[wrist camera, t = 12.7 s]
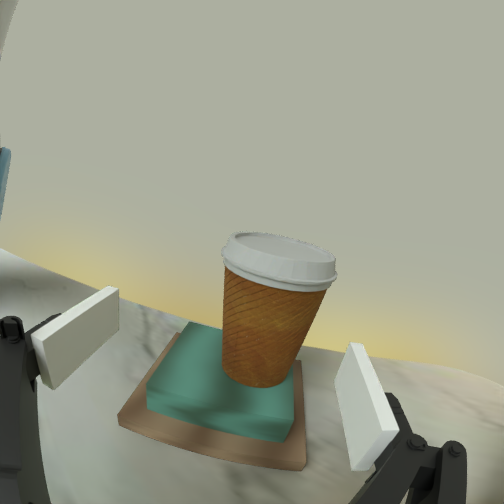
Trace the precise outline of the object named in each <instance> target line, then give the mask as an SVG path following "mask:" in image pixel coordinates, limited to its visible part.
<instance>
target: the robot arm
mask: <svg viewBox="0 0 504 504" xmlns="http://www.w3.org/2000/svg"><path fill="white" fill-rule="evenodd" d="M17 2H18V0H0V59H1V54H2V50H3V46H4V42H5V38H6V35H7V32H8V29H9V25H10V22H11V19H12V16H13V13H14V10H15V8H16V5H17ZM10 159H11V151H10V149H7V148H5V147H2V148H0V219H1V214H2V208H3V202H4V196H5V190H6V184H7V178H8V172H9V166H10ZM118 330H119V289H118V288H115V287H112V286H109V285H108V286H106V287H105V288H103V289H101V290H100V291H98V292H96V293H95V294H93V295H92V296H90V297H88V298H87V299H85V300H83V301H82V302H80V303H79V304H77V305H75V306H74V307H72V308H71V309H69V310H68V311H66V312H64V313H63V314H61V313H59V314H56V315H52V316H51V317H49V318H47V319H46V320H45V321H43V322H41V323H40V324H38V325H36V326H35V327H33V328H32V329H30V330H29V331H27V332H26V333H24V328H23V323H22V320H21V319H20V318H18V317H16V316H6V317H3V318H2V319H0V335H1V336H0V504H51V502H50V498H49V494H48V489H47V484H46V479H45V474H44V468H43V462H42V455H41V447H40V438H39V427H38V409H37V381H36V377H37V376H38V375H39V374H40V375H41V379H42V382H43V384H45V385H46V386H48V387H49V388H51V389H53V390H55V389H56V388H57V387H58V386H59V385H60V384H61V383H62V382H63V381H64V380H66V379H67V378H68V377H69V376H70V375H71V374H72V373H73V372H74V371H75V370H76V369H77V368H78V367H79V366H80V365H81V364H82V363H83V362H84V361H86V360H87V359H88V358H89V357H90V356H91V355H92V354H93V353H94V352H95V351H96V350H97V349H98V348H99V347H101V346H102V345H103V344H104V343H105V342H106V341H107V340H108V339H109V338H110V337H111V336H112V335H114V334H115V333H116V332H117V331H118ZM334 384H335V389H336V393H337V398H338V403H339V407H340V412H341V417H342V422H343V427H344V432H345V437H346V442H347V448H348V453H349V459H350V464H351V470H352V471H368V470H369V469H370V467H371V466H372V465H373V464H374V463H375V467H376V470H375V472H374V473H373V474H372V475H371V476H370V477H369V478H368V479H367V480H366V481H365V484H364V486H363V487H362V488H361V489H360V491H359V492H358V493H357V494H356V495H355V497H354V498H353V499H352V500H351V501H350V502H349V504H400V502H401V501H402V499H403V497H404V496H405V494H406V492H407V490H408V489H409V492H408V496H407V500H406V504H466V488H467V453H466V449H465V448H464V446H463V445H462V444H461V443H459V442H457V441H447V442H446V443H445V444H444V445H443V446H442V447H441V448H438V447H432V446H428V445H427V442H426V441H425V439H424V438H422V437H421V436H420V435H417V434H413V432H412V430H411V428H410V425H409V423H408V421H407V418H406V416H405V414H404V412H403V410H402V408H401V405H400V403H399V401H398V399H397V398H396V397H395V396H394V395H393V394H392V393H385V392H384V391H383V389H382V386H381V384H380V382H379V379H378V377H377V375H376V373H375V370H374V368H373V366H372V364H371V361H370V359H369V357H368V355H367V353H366V351H365V348H364V346H363V344H360V343H353V342H350V343H349V345H348V348H347V351H346V353H345V356H344V358H343V360H342V363H341V365H340V368H339V370H338V372H337V375H336V377H335V379H334Z"/></svg>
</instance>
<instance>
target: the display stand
mask: <svg viewBox="0 0 504 504" xmlns="http://www.w3.org/2000/svg"><path fill="white" fill-rule="evenodd" d="M222 334H223V330H220V329H216V328H212V327H208V326H204V325H201V324H197V323H193V322H189V323H188V324H187V326H186V327H185V328H184V330H183V331H182V333H178V332H177V333H176V334H175V335H174V337H173V338H172V340H171V341H170V342H169V344H168V345H167V346H166V348H165V349H164V351H163V352H162V353H161V355H160V356H159V357H158V359H157V360H156V362H155V363H154V364H153V366H152V367H151V368H150V370H149V371H148V373H147V374H146V375H145V377H144V378H143V380H142V381H141V382H140V384H139V385H138V386H137V388H136V389H135V391H134V392H133V393H132V395H131V396H130V398H129V399H128V400H127V402H126V403H125V405H124V406H123V407H122V409H121V410H120V412H119V413H118V414H117V416H118V422H119V425H120V426H122V427H124V428H127V429H129V430H132V431H134V432H136V433H139V434H142V435H144V436H147V437H149V438H152V439H155V440H158V441H161V442H163V443H166V444H169V445H172V446H176V447H179V448H182V449H185V450H189V451H192V452H196V453H199V454H203V455H207V456H211V457H215V458H219V459H224V460H228V461H233V462H238V463H243V464H249V465H254V466H261V467H267V468H275V469H283V470H292V471H301V470H302V469H303V467H304V466H305V464H306V438H305V416H304V398H303V382H302V367H301V361H300V360H294V362H293V364H292V366H291V368H290V370H289V372H288V374H287V376H286V378H285V379H284V381H283V382H281V383H280V384H278V385H276V386H273V387H268V388H256V387H250V386H246V385H243V384H240V383H238V382H237V381H235V380H233V379H231V378H230V377H229V376H228V375H227V374H226V373H225V372H224V370H223V367H222Z"/></svg>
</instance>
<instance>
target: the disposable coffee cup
mask: <svg viewBox="0 0 504 504" xmlns="http://www.w3.org/2000/svg"><path fill="white" fill-rule="evenodd" d="M221 254H222V256H223V262H224V265H225V279H224V280H225V281H224V300H223V304H224V305H223V334H222V367H223V370H224V372H225V373H226V374H227V375H228V376H229V377H230V378H231V379H233V380H235V381H237V382H238V383H240V384H243V385H246V386H250V387H256V388H268V387H273V386H276V385H278V384H280V383H281V382H283V381H284V379H285V378H286V376H287V374H288V372H289V370H290V368H291V366H292V364H293V362H294V360H295V358H296V356H297V354H298V352H299V350H300V347H301V345H302V343H303V341H304V339H305V337H306V335H307V333H308V331H309V328H310V326H311V324H312V322H313V320H314V318H315V316H316V313H317V311H318V309H319V307H320V304H321V302H322V300H323V298H324V295H325V293H326V290H327V288H329V287H330V286H331V284H332V282H334V281H335V280H336V278H337V272H336V271H335V261H336V258H335V256H334V255H333V254H332V253H330V252H328V251H327V250H325V249H322V248H320V247H318V246H315V245H313V244H310V243H306V242H303V241H300V240H296V239H293V238H288V237H284V236H278V235H273V234H268V233H260V232H235V233H232V234H231V235H230V237H229V240H228V242H227V244H226V246H224V247H223V248H222V250H221Z"/></svg>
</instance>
